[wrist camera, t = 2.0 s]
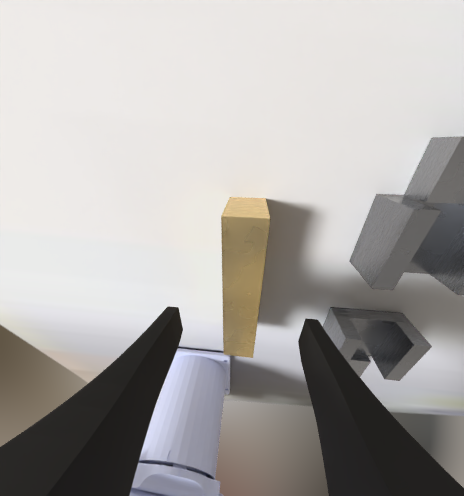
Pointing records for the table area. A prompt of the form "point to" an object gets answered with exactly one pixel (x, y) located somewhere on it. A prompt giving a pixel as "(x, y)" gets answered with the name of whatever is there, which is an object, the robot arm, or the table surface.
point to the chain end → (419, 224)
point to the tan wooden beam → (243, 271)
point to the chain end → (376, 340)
